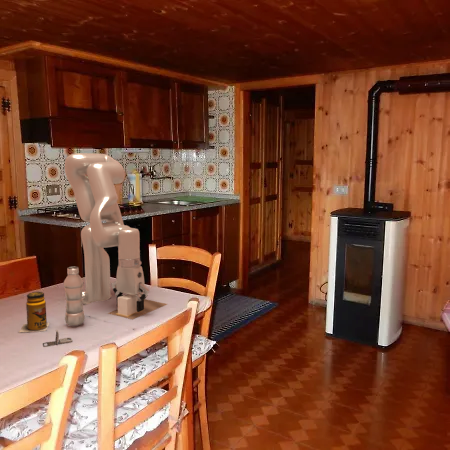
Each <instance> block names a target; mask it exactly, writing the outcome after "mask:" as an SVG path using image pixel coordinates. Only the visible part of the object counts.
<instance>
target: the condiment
mask: <svg viewBox="0 0 450 450" xmlns="http://www.w3.org/2000/svg"><path fill="white" fill-rule="evenodd" d="M46 305H47V302H46V300H45V292H43V291H33V292H30V293H27V295H26V303H25V306H26V307H25V308H26V309H25V310H26V323H23V324H22V326H21V328H20V330H19V331H18V333H31V332H33V333H34V332H46V331H47V330H48V328H49V325H50V322H47V306H46Z"/></svg>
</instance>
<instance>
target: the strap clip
mask: <svg viewBox="0 0 450 450" xmlns="http://www.w3.org/2000/svg"><path fill="white" fill-rule="evenodd" d="M55 332H56V333H55V340H53V341H46V342H43V343H42V347H44V348H48V347H51V346H52V347H53V346H56V345H58V344H59V345H65V344H71V343H73V338H72V337H64V338H63V337H62V338H60V334H59V333H60V332H59V330H58V329H56V330H55ZM46 344H47V345H46Z"/></svg>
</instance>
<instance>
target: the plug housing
mask: <svg viewBox="0 0 450 450" xmlns="http://www.w3.org/2000/svg"><path fill="white" fill-rule="evenodd" d="M122 295H123V296H121V297H118V307H117V309H118V314H121V315H125V316H128V315H131V314H133V313H135V312H137V301H138V300H137V298H136V296H135V295H130V294H122ZM139 296H140V294H139ZM140 297H141V296H140Z"/></svg>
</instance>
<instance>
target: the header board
mask: <svg viewBox="0 0 450 450" xmlns="http://www.w3.org/2000/svg"><path fill="white" fill-rule="evenodd" d="M167 305H168V303H164V302H159V301H157V300H155V301H154V300H152V299H146V298H145V300H144V310H142V311H140V312H135V313H133V314H131V315H128V316H125V315H121V314H118V308H116V309H114V310H112V311H110V312H107V314H108V315H112V316H116V317H121V318H125V319H128V320H132V321H133V320H136V319H137V318H139V317H142V316H144V315H147V314H149V313H150V312H151V313H152V312H154V311H155V310H159V309H161V308H163V307H165V306H167Z"/></svg>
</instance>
